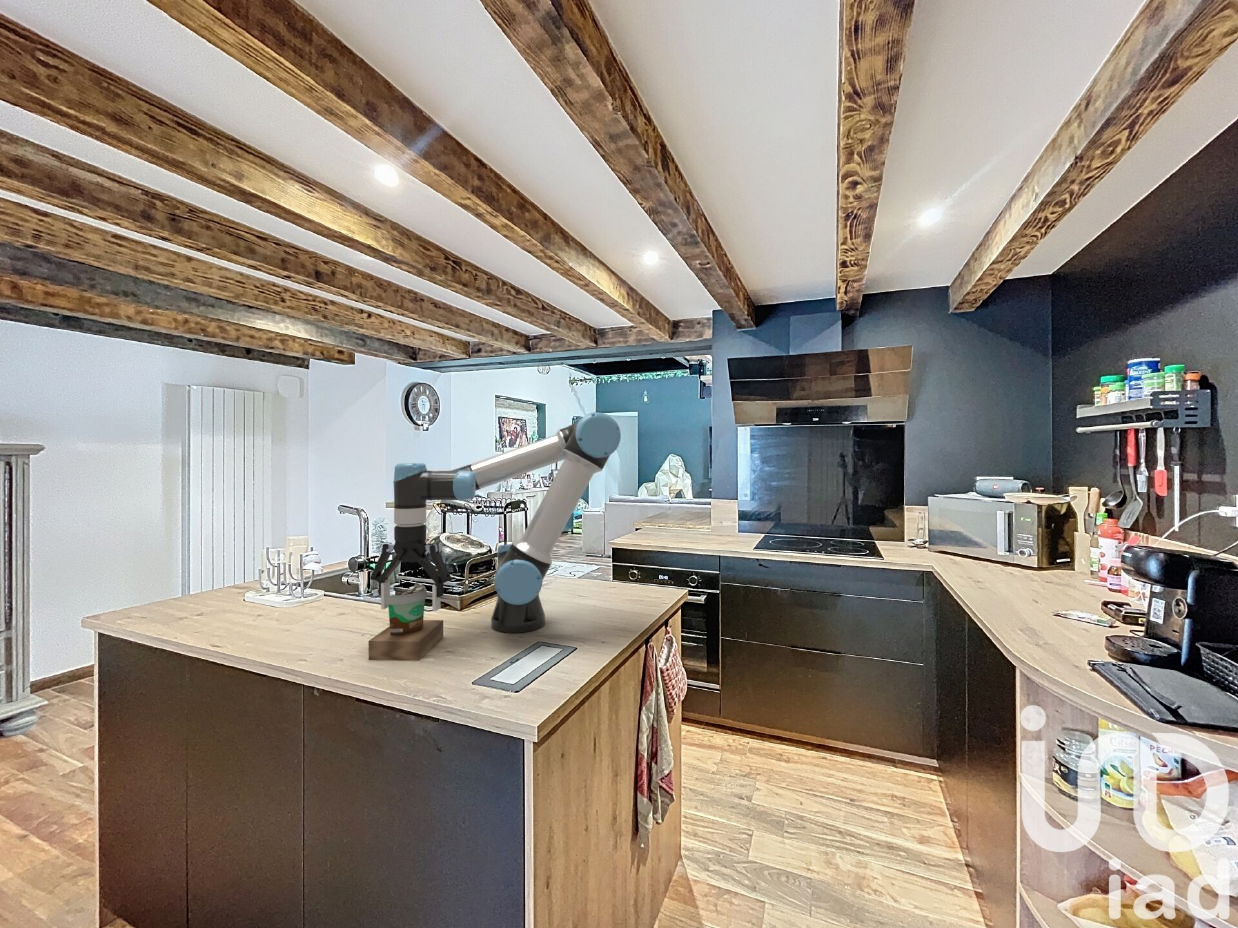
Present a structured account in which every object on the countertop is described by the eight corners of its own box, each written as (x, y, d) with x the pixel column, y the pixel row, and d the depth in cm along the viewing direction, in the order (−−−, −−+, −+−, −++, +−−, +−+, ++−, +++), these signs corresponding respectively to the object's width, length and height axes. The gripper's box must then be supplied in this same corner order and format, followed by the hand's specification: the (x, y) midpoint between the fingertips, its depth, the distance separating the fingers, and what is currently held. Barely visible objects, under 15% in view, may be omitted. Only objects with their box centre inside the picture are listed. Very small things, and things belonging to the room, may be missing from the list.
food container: (409, 639, 125) (409, 597, 125) (386, 637, 127) (386, 595, 127) (437, 622, 138) (437, 584, 137) (416, 621, 139) (415, 583, 139)
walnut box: (443, 638, 140) (443, 620, 140) (418, 662, 124) (418, 641, 124) (398, 638, 140) (398, 619, 140) (368, 661, 124) (368, 640, 124)
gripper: (464, 523, 134) (464, 606, 134) (372, 521, 137) (373, 602, 137) (451, 527, 126) (451, 615, 127) (354, 525, 130) (355, 611, 130)
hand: (410, 608), depth 132 cm, fingers open, 13 cm apart
